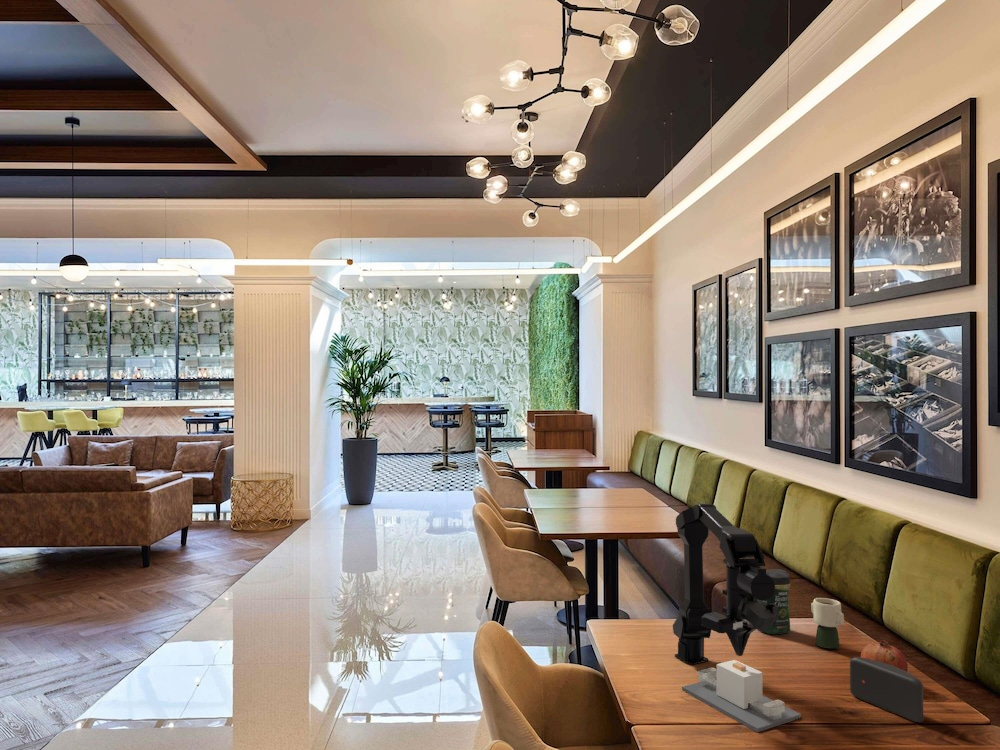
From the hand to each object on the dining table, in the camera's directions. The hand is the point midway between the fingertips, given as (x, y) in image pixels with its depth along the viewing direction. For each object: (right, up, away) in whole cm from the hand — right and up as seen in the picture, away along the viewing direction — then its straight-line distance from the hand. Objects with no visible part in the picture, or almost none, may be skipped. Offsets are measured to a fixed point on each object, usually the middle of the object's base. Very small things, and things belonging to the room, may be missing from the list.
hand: (739, 655), depth 149 cm
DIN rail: (0, -11, 0) cm, 11 cm away
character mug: (+39, -13, +35) cm, 54 cm away
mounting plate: (0, -11, 0) cm, 11 cm away
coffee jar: (+28, -14, +48) cm, 57 cm away
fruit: (+41, -13, +13) cm, 45 cm away
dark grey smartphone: (+33, -12, -2) cm, 35 cm away
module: (0, -10, 0) cm, 10 cm away
